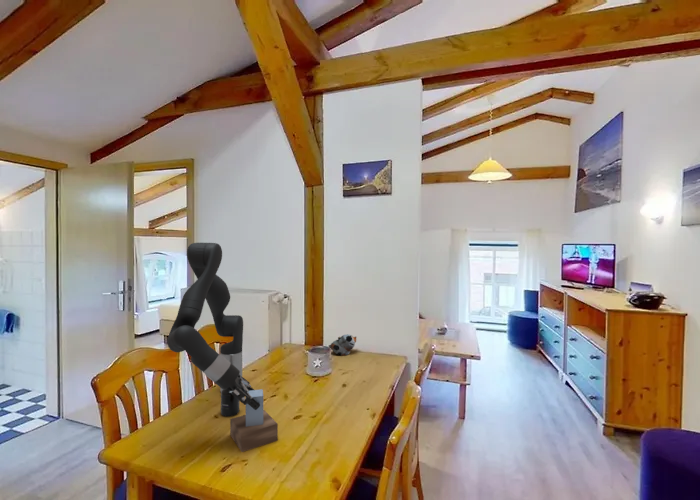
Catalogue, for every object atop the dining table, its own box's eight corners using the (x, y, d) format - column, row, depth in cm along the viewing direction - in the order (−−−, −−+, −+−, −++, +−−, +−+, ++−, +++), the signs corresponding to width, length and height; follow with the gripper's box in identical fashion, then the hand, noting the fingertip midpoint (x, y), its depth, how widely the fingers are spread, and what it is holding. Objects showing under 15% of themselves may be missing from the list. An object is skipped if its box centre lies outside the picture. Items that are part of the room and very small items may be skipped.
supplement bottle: (220, 418, 135) (220, 386, 135) (221, 410, 142) (221, 379, 142) (239, 415, 137) (239, 384, 137) (239, 407, 144) (239, 377, 144)
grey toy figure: (339, 348, 226) (350, 328, 225) (352, 359, 218) (363, 339, 217) (324, 346, 214) (335, 326, 213) (337, 358, 206) (349, 337, 205)
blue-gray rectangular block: (245, 418, 124) (245, 390, 123) (262, 416, 125) (262, 389, 125) (245, 426, 118) (245, 397, 118) (263, 424, 120) (263, 395, 120)
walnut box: (230, 436, 124) (230, 418, 123) (264, 426, 130) (264, 409, 130) (241, 453, 114) (241, 434, 114) (277, 441, 120) (277, 423, 120)
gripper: (229, 370, 112) (267, 402, 116) (230, 356, 126) (264, 385, 130) (211, 389, 111) (250, 420, 115) (214, 372, 124) (248, 401, 128)
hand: (257, 401), depth 122 cm, fingers open, 8 cm apart
